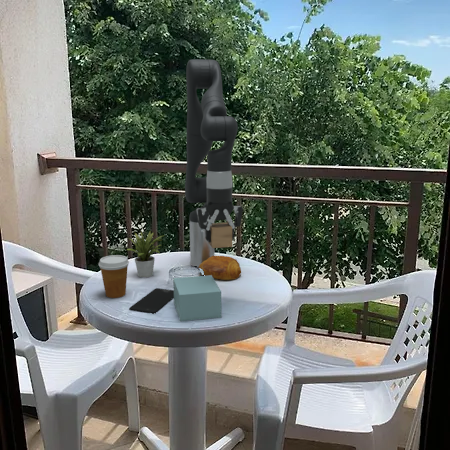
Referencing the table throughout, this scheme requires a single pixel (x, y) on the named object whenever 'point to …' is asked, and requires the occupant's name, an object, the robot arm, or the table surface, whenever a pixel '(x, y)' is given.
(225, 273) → the croissant
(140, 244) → the house plant
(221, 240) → the walnut cube
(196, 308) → the stand
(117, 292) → the disposable coffee cup
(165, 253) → the table surface
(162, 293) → the cell phone
